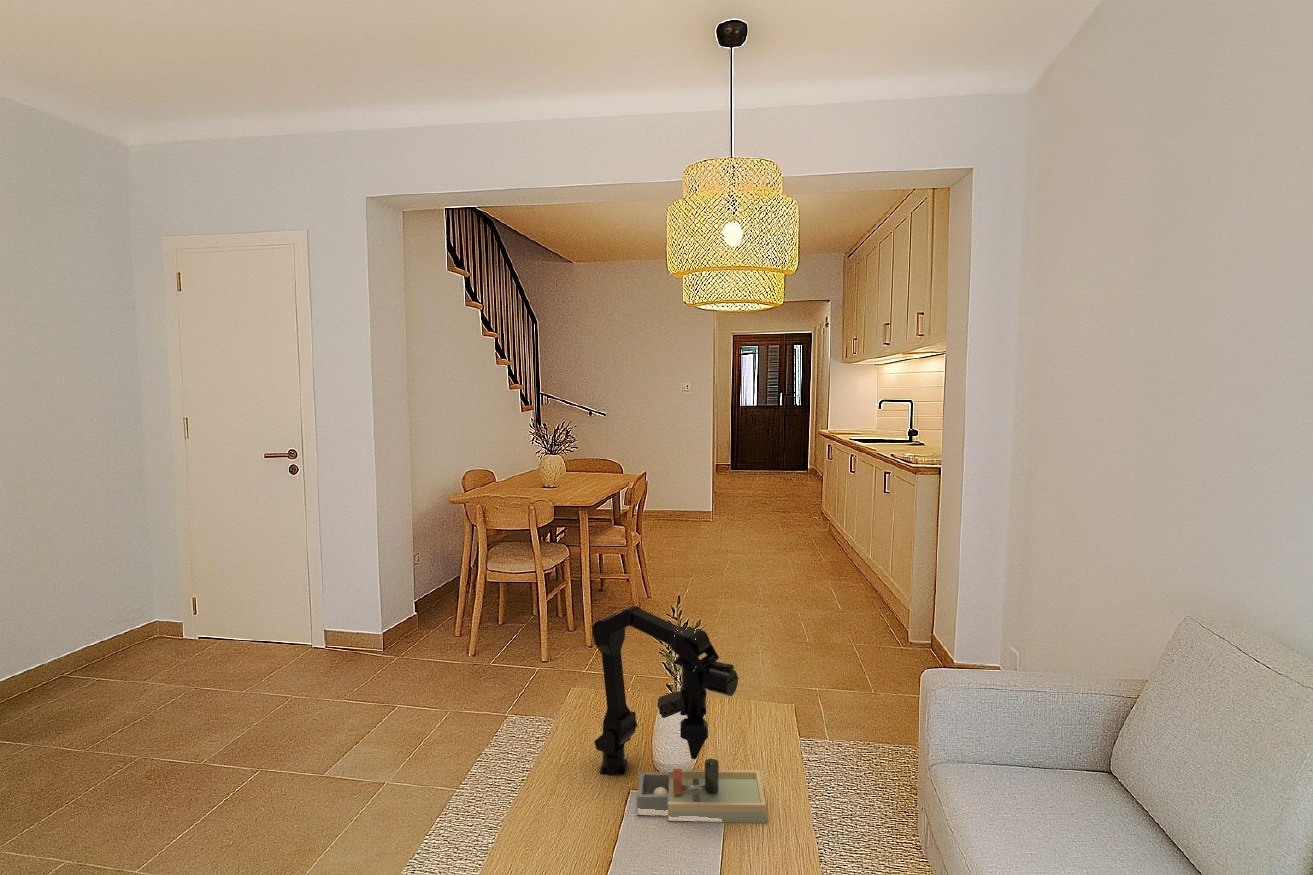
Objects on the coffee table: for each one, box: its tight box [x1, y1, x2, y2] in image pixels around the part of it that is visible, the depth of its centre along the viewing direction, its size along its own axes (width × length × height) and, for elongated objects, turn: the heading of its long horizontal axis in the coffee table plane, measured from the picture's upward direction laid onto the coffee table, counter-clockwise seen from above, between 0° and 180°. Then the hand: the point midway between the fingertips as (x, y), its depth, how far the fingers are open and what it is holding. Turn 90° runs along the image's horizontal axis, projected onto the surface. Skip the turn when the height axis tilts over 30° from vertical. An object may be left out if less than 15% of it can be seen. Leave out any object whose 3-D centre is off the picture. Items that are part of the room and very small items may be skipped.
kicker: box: [672, 758, 719, 794], centre depth 161 cm, size 4×11×7 cm, turn 88°
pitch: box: [667, 769, 767, 824], centre depth 161 cm, size 14×22×4 cm, turn 88°
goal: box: [636, 771, 669, 811], centre depth 161 cm, size 10×7×4 cm
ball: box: [652, 787, 668, 795], centre depth 161 cm, size 4×4×4 cm
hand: (693, 748), depth 163 cm, fingers open, 9 cm apart
